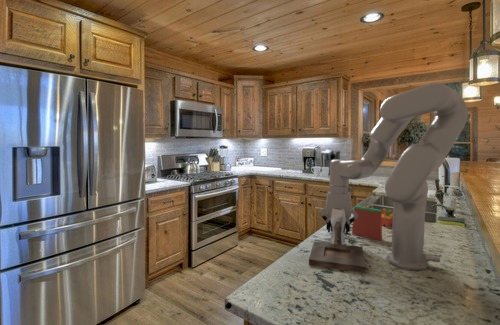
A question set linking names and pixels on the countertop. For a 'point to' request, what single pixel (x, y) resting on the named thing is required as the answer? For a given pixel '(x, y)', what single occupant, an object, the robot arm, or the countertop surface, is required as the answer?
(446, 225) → the countertop surface
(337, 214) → the beer glass
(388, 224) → the toy building block set
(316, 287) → the countertop surface
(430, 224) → the countertop surface
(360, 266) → the coaster board
